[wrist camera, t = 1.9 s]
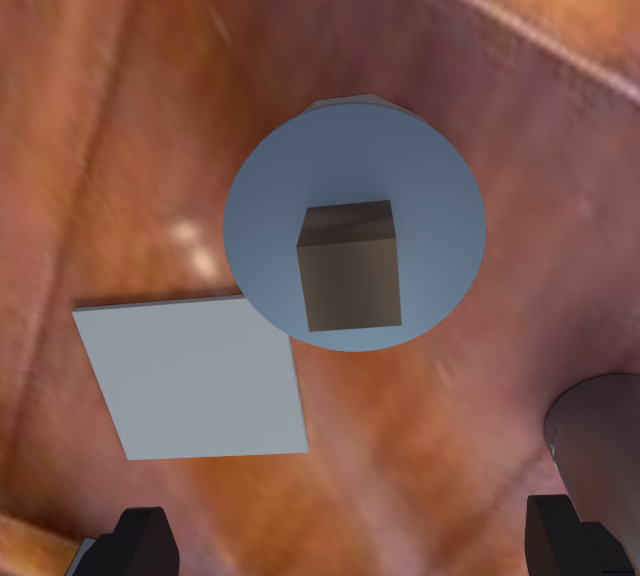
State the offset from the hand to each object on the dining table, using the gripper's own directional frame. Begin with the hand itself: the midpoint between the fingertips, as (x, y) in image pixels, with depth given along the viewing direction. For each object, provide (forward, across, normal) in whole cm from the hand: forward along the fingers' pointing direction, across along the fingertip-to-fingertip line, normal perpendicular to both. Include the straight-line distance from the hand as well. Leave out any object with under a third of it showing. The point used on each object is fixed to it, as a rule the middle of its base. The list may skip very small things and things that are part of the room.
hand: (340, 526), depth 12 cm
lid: (+18, 0, 0) cm, 18 cm away
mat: (+24, +13, +13) cm, 30 cm away
